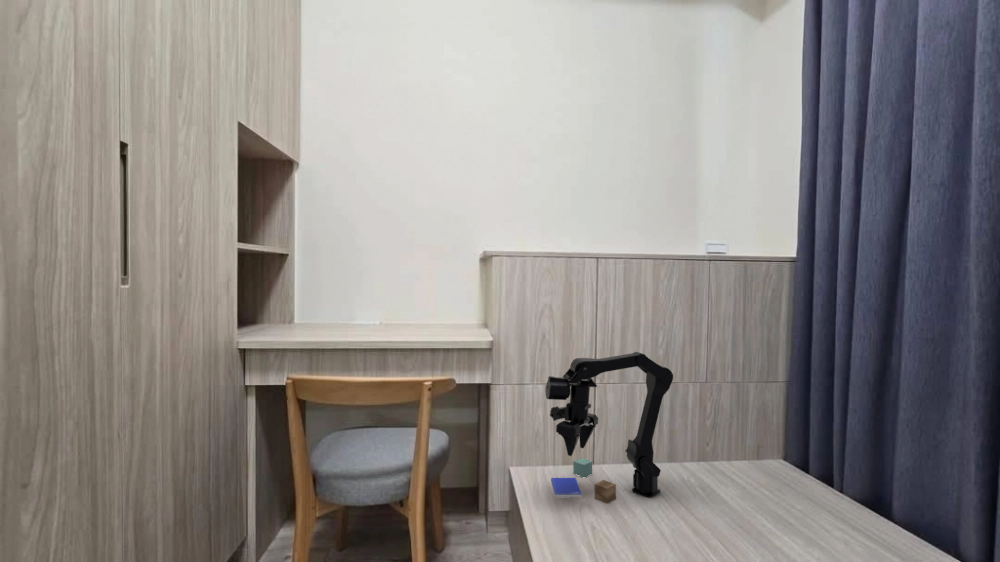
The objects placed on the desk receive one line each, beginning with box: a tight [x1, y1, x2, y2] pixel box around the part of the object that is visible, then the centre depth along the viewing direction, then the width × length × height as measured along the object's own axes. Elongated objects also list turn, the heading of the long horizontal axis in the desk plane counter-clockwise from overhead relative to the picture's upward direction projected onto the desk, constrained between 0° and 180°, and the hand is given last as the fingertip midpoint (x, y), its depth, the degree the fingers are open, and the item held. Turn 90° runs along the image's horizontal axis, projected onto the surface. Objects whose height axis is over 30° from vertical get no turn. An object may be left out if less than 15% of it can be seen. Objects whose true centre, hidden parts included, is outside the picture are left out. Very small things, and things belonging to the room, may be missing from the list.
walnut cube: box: [594, 479, 617, 505], centre depth 145 cm, size 4×4×4 cm
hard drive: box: [550, 477, 583, 498], centre depth 152 cm, size 2×8×12 cm
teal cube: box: [572, 457, 593, 478], centre depth 163 cm, size 4×4×4 cm
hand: (576, 451), depth 146 cm, fingers open, 9 cm apart
